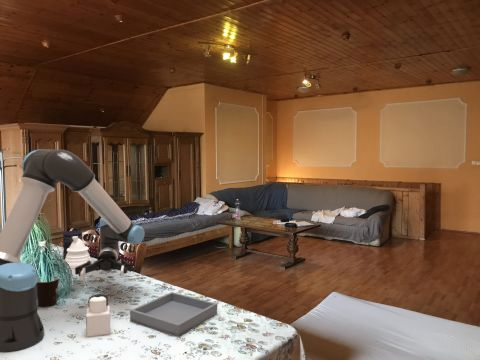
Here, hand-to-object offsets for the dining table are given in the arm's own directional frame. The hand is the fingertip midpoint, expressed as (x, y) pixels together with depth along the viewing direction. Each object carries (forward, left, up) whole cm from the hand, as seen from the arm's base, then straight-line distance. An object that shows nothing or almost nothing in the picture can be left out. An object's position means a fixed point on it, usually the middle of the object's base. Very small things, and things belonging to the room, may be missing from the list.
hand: (101, 275), depth 140 cm
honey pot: (-54, +30, -16) cm, 64 cm away
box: (+21, +15, -16) cm, 30 cm away
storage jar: (-76, +43, -16) cm, 89 cm away
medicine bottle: (+7, -7, -16) cm, 19 cm away
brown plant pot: (-29, -1, -16) cm, 33 cm away
